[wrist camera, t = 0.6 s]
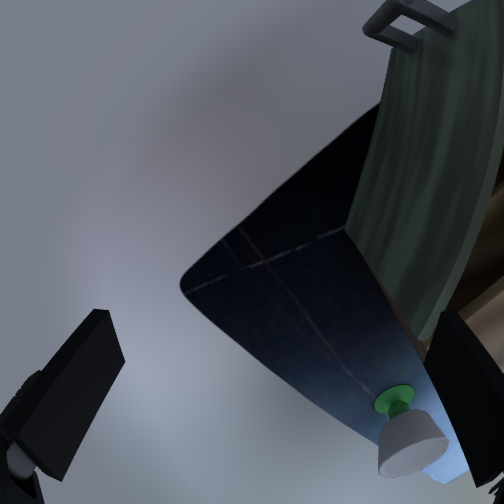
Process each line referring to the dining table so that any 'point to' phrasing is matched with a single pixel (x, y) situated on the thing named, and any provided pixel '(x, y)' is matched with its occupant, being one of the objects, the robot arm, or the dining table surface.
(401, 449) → the cup
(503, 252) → the cupboard
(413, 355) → the dining table surface
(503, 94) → the cupboard door
